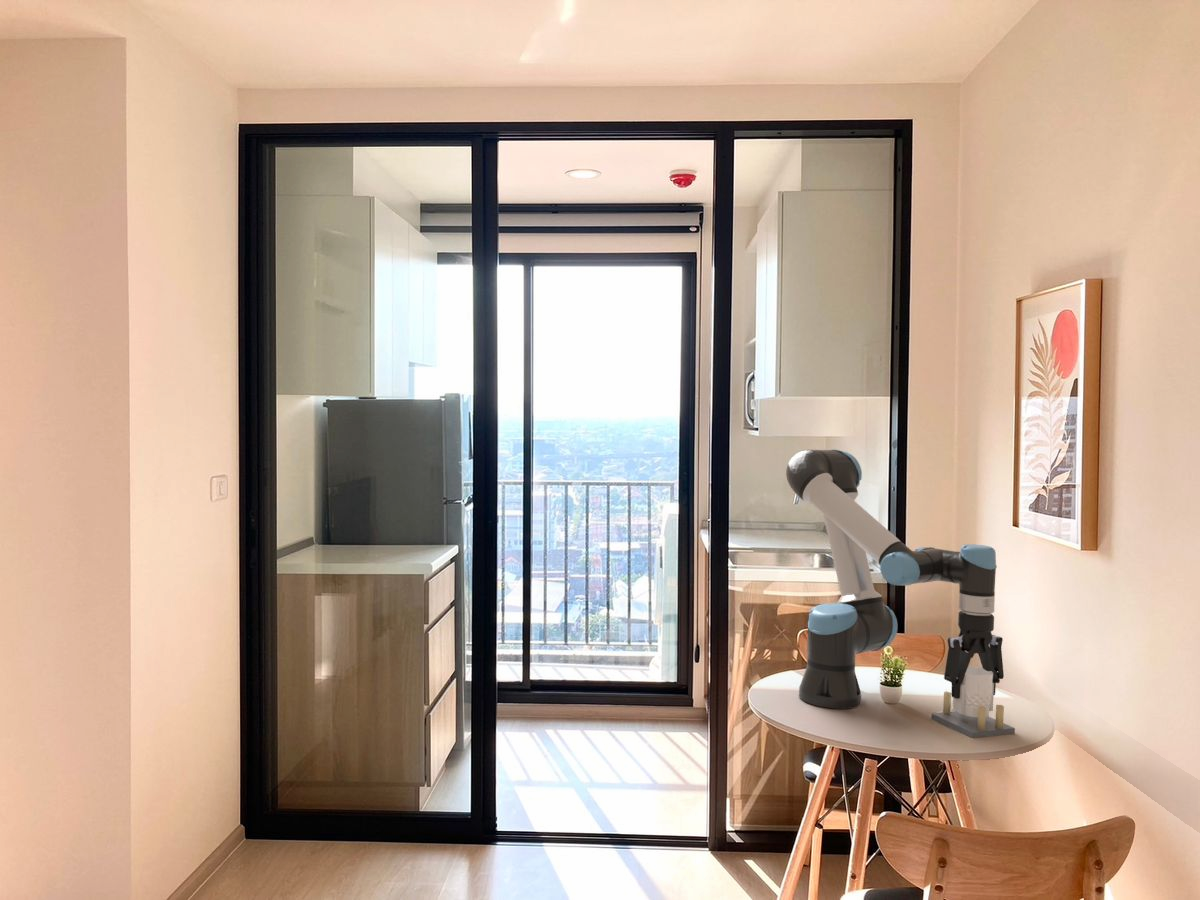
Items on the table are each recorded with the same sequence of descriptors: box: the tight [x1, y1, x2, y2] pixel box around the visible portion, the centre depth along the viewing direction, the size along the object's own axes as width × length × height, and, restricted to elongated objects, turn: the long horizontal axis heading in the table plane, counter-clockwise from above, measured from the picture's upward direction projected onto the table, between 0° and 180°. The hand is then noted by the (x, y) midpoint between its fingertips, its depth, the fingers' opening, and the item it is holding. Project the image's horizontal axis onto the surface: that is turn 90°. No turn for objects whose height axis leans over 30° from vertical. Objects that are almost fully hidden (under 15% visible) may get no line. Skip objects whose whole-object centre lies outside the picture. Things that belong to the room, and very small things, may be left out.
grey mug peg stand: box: [931, 691, 1016, 739], centre depth 192 cm, size 12×13×6 cm
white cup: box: [957, 665, 993, 718], centre depth 192 cm, size 8×8×10 cm
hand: (972, 710), depth 192 cm, fingers closed on white cup, 8 cm apart
